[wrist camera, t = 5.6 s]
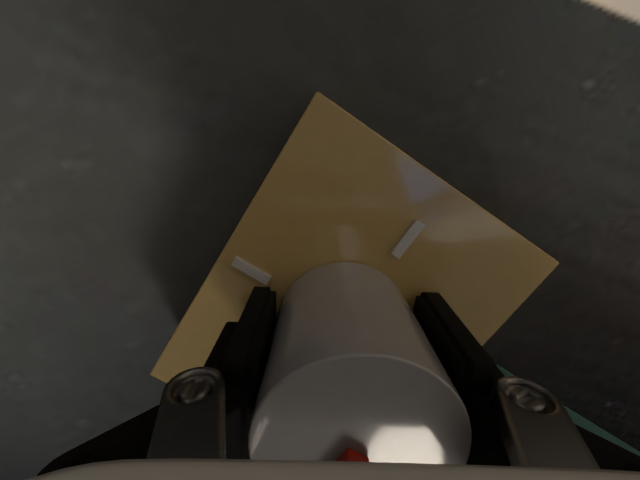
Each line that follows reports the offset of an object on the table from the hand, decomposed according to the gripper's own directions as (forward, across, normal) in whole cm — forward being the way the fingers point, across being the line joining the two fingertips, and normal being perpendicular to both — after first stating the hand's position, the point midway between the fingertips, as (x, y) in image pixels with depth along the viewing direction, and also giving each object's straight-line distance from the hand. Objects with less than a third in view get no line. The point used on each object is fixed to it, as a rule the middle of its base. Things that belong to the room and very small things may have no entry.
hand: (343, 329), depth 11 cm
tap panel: (+3, 0, 0) cm, 3 cm away
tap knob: (0, 0, 0) cm, 0 cm away
